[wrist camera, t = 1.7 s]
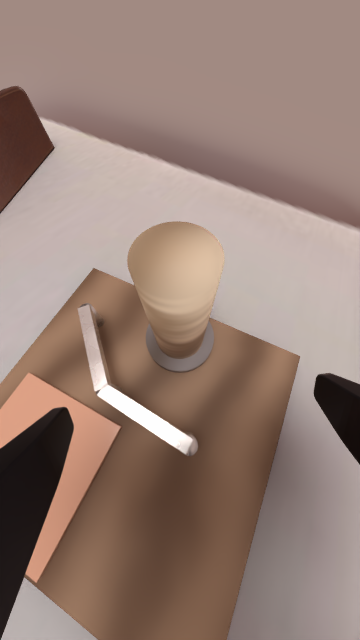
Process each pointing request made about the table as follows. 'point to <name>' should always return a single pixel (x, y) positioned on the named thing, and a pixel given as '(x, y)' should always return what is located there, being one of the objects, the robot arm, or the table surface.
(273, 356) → the board
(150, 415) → the bent metal bar
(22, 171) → the letter holder
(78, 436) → the pad
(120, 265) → the table surface
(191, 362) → the peg
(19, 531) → the robot arm
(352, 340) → the table surface
